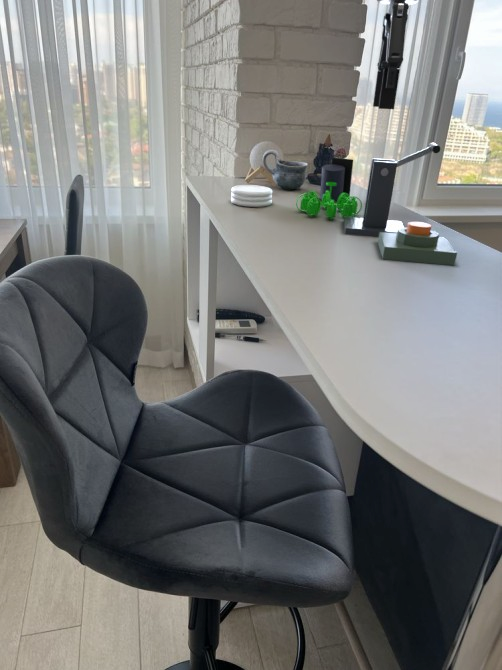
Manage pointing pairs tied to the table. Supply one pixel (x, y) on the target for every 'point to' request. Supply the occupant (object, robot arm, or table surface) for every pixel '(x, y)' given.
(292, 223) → the table surface
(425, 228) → the stop button
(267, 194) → the white stacked round discs
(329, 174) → the speaker
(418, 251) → the stop box
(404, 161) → the switch lever
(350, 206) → the chandelier
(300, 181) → the mug
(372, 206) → the switch bracket
